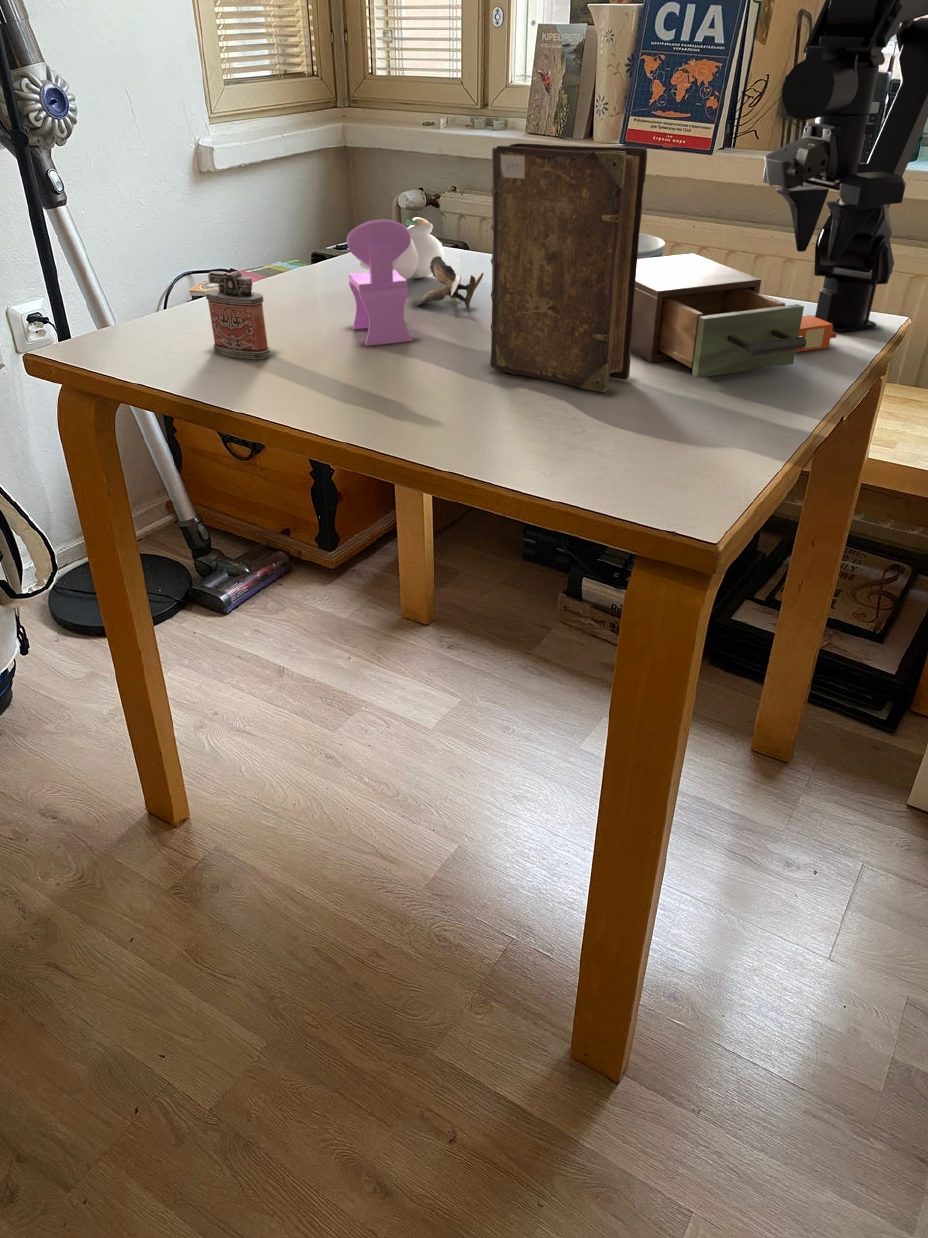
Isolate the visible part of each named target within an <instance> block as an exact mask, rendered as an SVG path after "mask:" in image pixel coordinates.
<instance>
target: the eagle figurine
mask: <svg viewBox="0 0 928 1238" xmlns="http://www.w3.org/2000/svg"><path fill="white" fill-rule="evenodd" d="M430 264H431V266H430V269H431V272H432V273H433V274H432V276H433V278H435V279H436V280H437V282H438V283H440V284H441V285H444V286H443V287H441V288H437V289H436V288H435V289H432V290H430V291H428V292H427V293H425V294H424V295H423V297H421V299H420V300H418V301H416V302H415V306H420V305H423V304H425V303H428V302H432V301H433V302H439V301H442V300H443V299H445V297H447V296H448V297H449V298H450V301H452V302H453V303H455V304H457V299H458V300H459V301H461V302H464V306H465V308H466V309H467V311H469V310H470V306H471V305H470V304H471V301H472V298H473V295H474V293H475V290H476V289H477V287H478V286H479V284H480V283H481V281H482V279H483V276H484V273H485V272H481V274H480V275H479V276H478V278H477V279H476V278H475V276H473V275H472V274H471V275H470V278H469V282H468V283H467V284H466V285H465V284H462V283H461V281H462V275H461V274H459V276H458V277H457V274H456V272H455V270H454V269H453V267H452V266H451V265H448V264H447V263H446V261H444V259H443V260H442V258H441V257H440V256H439V257H438V256H436V257H434V258H433V259H432V260H431V263H430ZM459 290H460V291H463V290H464V291H466V295H465V297H464V296H463V294H460V293H459Z"/></svg>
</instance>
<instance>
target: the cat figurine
mask: <svg viewBox="0 0 928 1238" xmlns="http://www.w3.org/2000/svg"><path fill="white" fill-rule="evenodd" d="M405 222H406V223H405V226H408V227H407V228H408V230H409V232H410V236H411V240H410V245H409V247H408V248H407V249H406V250H405V251H404V252H403V253H402V254H401V255H400V256H399V257H398V258H397V259H395V260H394V261H393V270H396V271H397V272H398V273H399V275H400V276H401V277H403V278H405V279H406V280H407V281H408V280H409V279H410V278H411V279H421V278H426V277H428V276H431V275H433V273H432V272H431V269H430V266H431V264H430V263H431V260H432V259H433V258H434V257H436V256H438V257H439V256H440V257H441V258H442V260H443V261H444V259H445V251H444V247H443V244H442V243H441V241H440V240H439V239H437V238H436V237H435V236H434V235H432V234H431V233H432V232H433V229H434V228H433V227H434V226H433V224H432V223H431V222H429V221H428V220H427V219H425V218H422V217H419V216H418V217H413V218H412V217H410V218H407V219H406V220H405ZM412 224H413V225H412ZM359 266H360V268H361V269H363V270H368V271H369V266H368V265H367V264H365V263H364V262H362V261H360V260H359Z"/></svg>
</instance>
